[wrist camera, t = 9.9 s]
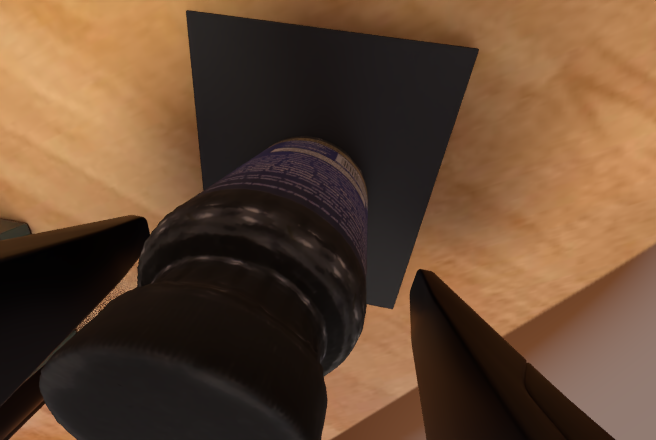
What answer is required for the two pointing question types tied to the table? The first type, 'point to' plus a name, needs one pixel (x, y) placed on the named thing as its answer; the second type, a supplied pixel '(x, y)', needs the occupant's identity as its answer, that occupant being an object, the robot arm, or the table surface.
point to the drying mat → (333, 114)
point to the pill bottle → (229, 310)
